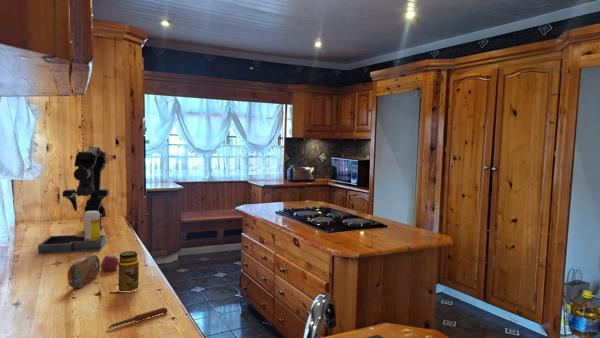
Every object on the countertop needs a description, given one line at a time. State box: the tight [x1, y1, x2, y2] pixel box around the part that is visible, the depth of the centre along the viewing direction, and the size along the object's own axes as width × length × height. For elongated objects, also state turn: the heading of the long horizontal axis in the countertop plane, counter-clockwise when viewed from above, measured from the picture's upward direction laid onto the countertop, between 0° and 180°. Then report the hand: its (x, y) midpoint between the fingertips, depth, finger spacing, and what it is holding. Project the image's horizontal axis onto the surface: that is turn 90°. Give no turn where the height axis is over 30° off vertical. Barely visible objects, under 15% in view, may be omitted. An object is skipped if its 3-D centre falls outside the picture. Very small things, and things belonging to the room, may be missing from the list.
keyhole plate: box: [37, 234, 108, 255], centre depth 168 cm, size 15×23×4 cm, turn 107°
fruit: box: [100, 254, 120, 272], centre depth 144 cm, size 6×6×8 cm
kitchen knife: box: [108, 307, 168, 329], centre depth 105 cm, size 16×1×2 cm, turn 133°
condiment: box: [114, 250, 142, 291], centre depth 126 cm, size 7×8×12 cm
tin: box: [67, 254, 101, 289], centre depth 130 cm, size 15×3×8 cm, turn 179°
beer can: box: [83, 211, 101, 241], centre depth 170 cm, size 6×6×15 cm
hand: (86, 210), depth 183 cm, fingers open, 9 cm apart
